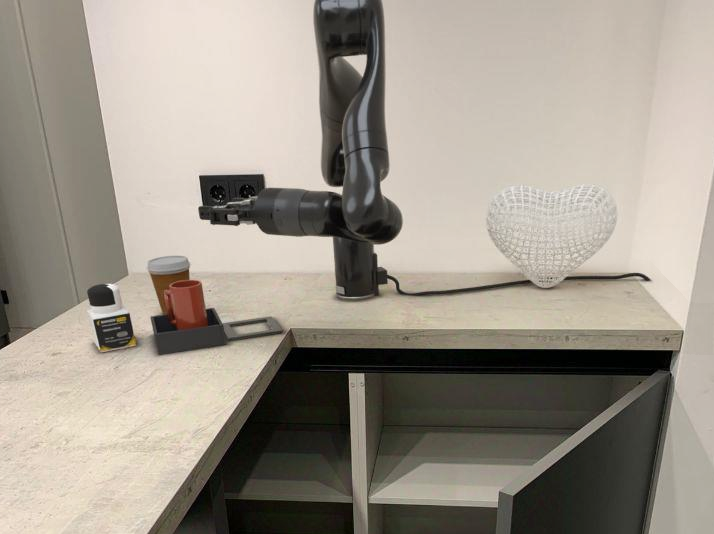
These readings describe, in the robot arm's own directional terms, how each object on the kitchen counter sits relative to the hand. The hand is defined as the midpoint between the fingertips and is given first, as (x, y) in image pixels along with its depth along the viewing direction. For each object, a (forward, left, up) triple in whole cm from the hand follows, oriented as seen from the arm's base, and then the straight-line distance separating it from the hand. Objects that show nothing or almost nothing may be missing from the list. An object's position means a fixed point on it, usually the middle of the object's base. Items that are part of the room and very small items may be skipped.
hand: (216, 208), depth 131 cm
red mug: (+8, -10, -25) cm, 28 cm away
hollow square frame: (-5, -11, -26) cm, 29 cm away
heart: (-73, -10, -26) cm, 78 cm away
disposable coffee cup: (+9, -31, -26) cm, 41 cm away
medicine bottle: (+23, -14, -26) cm, 37 cm away
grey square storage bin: (+8, -10, -26) cm, 29 cm away
